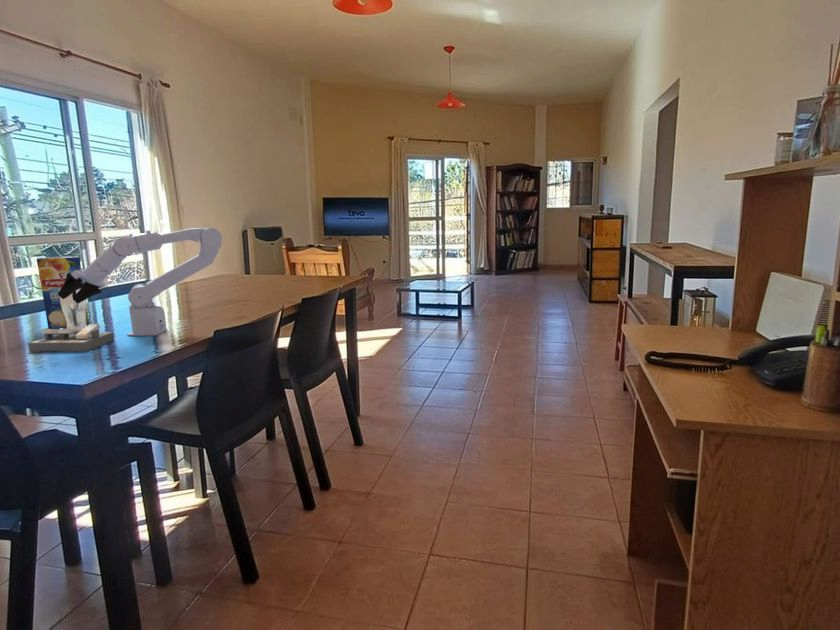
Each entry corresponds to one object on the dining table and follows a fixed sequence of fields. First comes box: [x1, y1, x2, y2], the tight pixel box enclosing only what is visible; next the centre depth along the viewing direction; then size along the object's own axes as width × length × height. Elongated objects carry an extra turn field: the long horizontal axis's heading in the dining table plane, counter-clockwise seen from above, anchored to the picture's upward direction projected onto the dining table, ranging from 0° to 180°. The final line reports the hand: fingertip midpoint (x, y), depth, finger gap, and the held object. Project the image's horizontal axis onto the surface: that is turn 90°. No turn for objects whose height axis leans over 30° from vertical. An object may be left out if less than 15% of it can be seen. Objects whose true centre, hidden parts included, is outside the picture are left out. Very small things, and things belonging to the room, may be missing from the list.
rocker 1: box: [40, 328, 58, 335], centre depth 152 cm, size 3×7×1 cm, turn 178°
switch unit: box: [27, 329, 115, 353], centre depth 152 cm, size 16×13×4 cm
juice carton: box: [36, 255, 90, 330], centre depth 178 cm, size 12×8×24 cm, turn 125°
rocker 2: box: [75, 323, 101, 339], centre depth 152 cm, size 3×7×1 cm, turn 178°
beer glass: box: [59, 288, 87, 330], centre depth 168 cm, size 7×7×15 cm
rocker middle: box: [57, 328, 78, 334], centre depth 152 cm, size 3×7×1 cm, turn 178°
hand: (68, 299), depth 156 cm, fingers open, 7 cm apart
